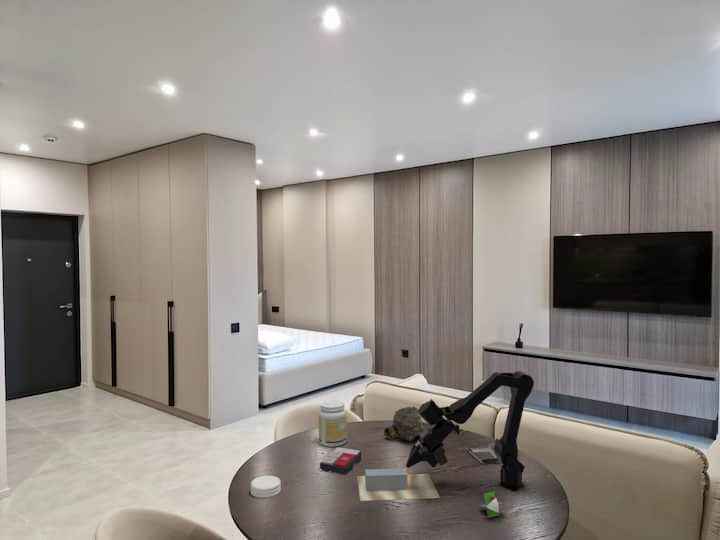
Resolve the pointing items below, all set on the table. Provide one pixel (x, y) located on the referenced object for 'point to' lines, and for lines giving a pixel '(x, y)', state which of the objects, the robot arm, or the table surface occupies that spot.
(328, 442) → the supplement tub
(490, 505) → the geometric puzzle
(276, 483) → the white puck
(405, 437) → the rock
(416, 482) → the board
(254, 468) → the table surface
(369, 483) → the pillar
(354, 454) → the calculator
